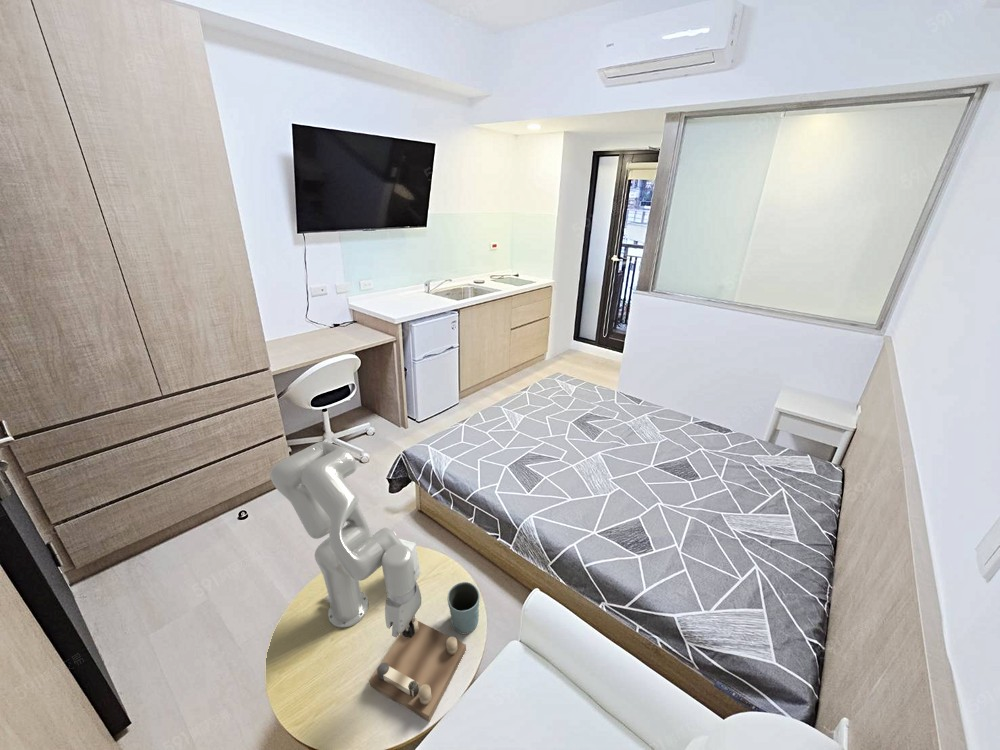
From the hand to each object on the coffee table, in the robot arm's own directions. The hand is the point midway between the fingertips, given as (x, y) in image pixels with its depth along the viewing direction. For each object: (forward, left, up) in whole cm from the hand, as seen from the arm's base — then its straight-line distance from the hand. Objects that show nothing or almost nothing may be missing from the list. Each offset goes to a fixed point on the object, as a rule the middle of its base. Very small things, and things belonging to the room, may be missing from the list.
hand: (408, 633), depth 111 cm
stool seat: (+2, +1, -16) cm, 16 cm away
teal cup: (+7, +19, -17) cm, 26 cm away
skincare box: (-20, +24, -17) cm, 36 cm away
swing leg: (0, -6, -13) cm, 14 cm away
